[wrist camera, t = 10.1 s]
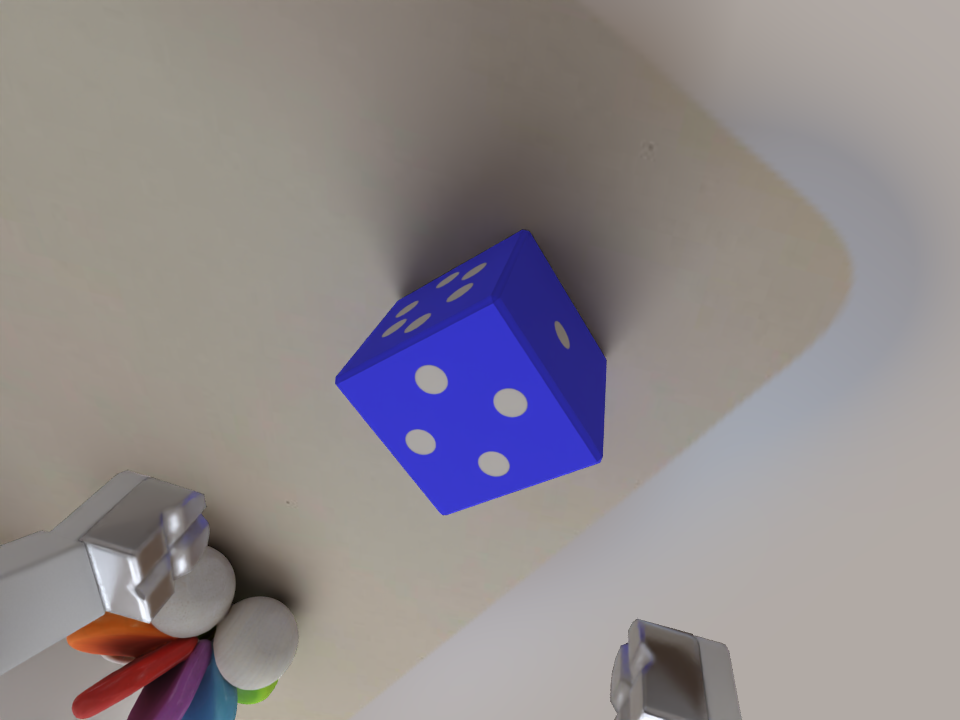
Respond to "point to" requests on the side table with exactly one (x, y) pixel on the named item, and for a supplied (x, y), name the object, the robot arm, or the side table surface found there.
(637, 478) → the side table surface
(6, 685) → the mug
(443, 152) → the side table surface
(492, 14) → the side table surface
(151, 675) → the rainbow petal toy
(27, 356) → the side table surface
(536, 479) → the die
